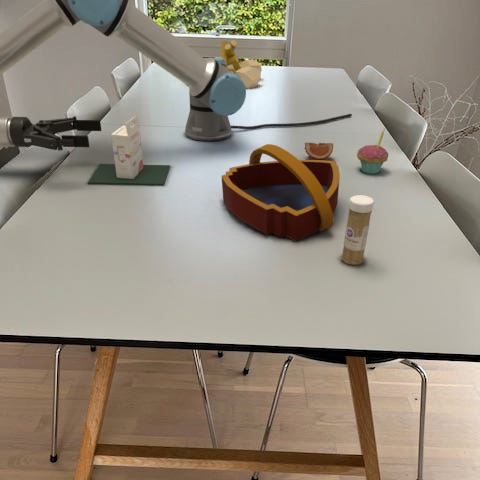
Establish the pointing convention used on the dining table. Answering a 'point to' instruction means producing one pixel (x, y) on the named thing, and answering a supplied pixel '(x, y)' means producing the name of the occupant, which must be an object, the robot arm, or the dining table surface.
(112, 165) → the mat
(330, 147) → the fruit slice
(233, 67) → the campfire
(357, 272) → the dining table surface
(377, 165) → the cupcake
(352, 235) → the sprinkles bottle
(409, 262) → the dining table surface
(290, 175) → the decorative basket
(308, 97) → the dining table surface
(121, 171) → the ink cartridge box
